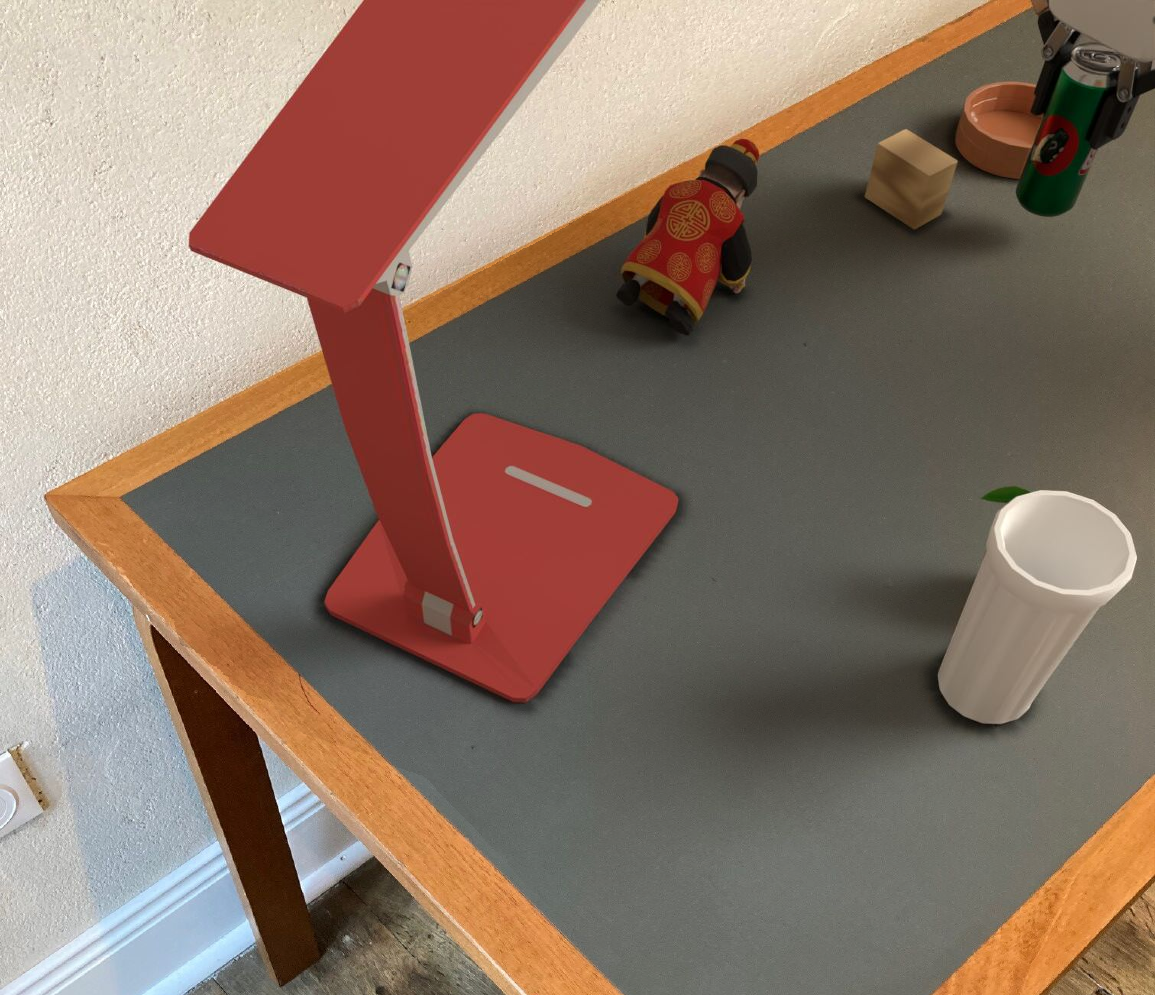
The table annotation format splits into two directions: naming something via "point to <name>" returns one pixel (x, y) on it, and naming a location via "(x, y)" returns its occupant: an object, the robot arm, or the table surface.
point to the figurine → (695, 239)
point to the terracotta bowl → (998, 127)
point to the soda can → (1068, 131)
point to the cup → (1032, 600)
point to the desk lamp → (382, 353)
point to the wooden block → (910, 178)
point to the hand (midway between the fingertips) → (1074, 123)
